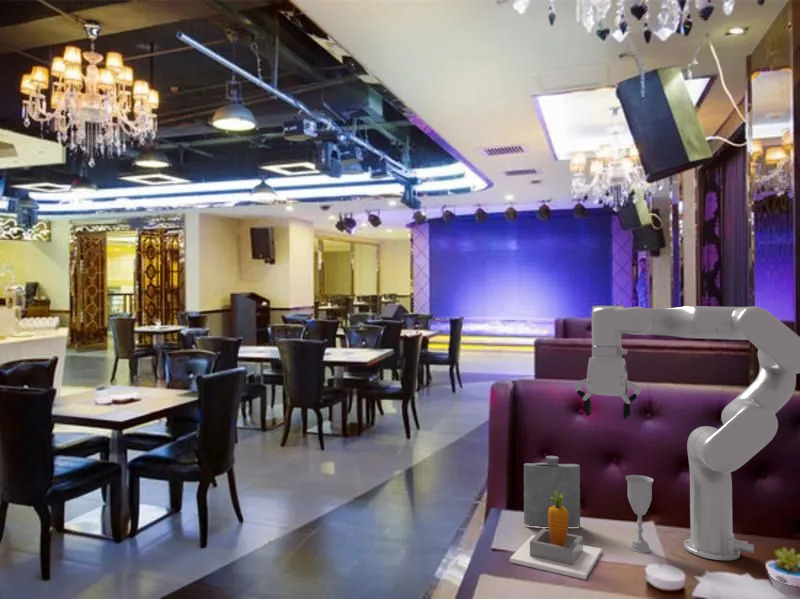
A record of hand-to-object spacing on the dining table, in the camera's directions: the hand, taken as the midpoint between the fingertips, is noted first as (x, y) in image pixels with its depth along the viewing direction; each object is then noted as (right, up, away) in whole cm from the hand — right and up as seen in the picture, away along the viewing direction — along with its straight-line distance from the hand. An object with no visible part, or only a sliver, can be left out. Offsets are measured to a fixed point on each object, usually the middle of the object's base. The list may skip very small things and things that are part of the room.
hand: (607, 416), depth 153 cm
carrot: (-16, -32, -12) cm, 38 cm away
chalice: (+7, -33, -6) cm, 34 cm away
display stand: (-17, -33, -11) cm, 38 cm away
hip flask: (-12, -34, +10) cm, 37 cm away
